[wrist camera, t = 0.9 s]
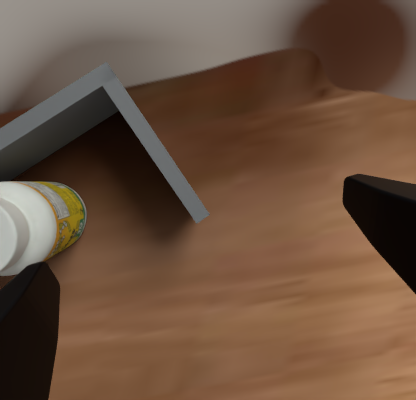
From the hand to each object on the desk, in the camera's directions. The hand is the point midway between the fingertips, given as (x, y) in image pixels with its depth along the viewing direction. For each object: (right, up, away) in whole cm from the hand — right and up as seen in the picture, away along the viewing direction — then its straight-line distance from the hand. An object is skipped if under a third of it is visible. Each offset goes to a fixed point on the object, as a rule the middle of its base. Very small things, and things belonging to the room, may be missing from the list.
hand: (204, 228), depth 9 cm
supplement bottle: (-12, 0, +15) cm, 19 cm away
